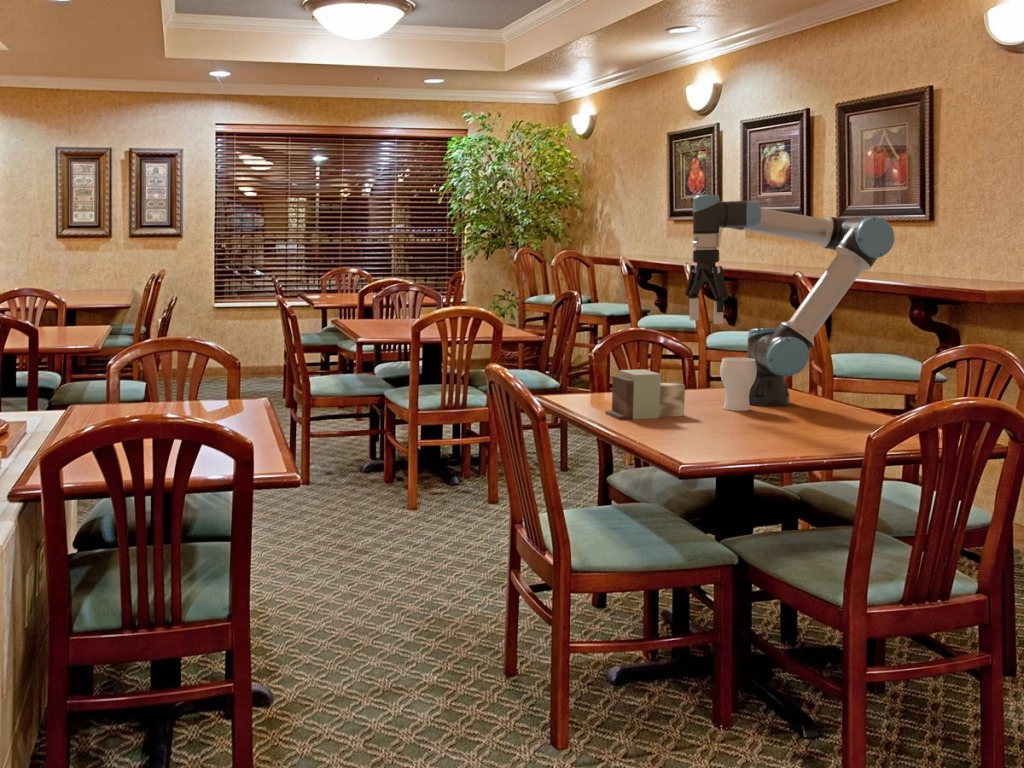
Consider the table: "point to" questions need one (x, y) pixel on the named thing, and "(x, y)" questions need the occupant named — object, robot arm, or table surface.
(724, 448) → the table surface
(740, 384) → the cup
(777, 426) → the table surface
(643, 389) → the block
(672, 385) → the peg
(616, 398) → the wall
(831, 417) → the table surface
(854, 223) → the robot arm
